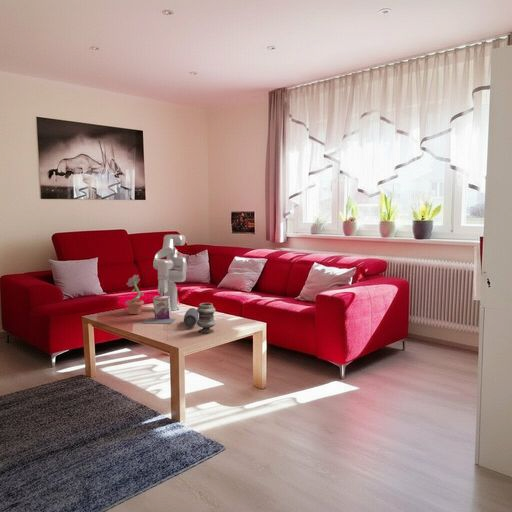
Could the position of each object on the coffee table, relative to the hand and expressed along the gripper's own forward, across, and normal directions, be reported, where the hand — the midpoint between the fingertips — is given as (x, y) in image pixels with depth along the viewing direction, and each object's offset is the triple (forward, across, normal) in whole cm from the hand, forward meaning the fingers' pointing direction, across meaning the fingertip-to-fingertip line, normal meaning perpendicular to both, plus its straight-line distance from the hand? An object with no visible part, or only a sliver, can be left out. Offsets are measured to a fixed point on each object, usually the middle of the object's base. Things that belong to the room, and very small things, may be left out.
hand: (163, 302), depth 328 cm
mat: (+12, +10, 0) cm, 16 cm away
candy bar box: (+11, 0, 0) cm, 11 cm away
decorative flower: (+12, -13, -25) cm, 30 cm away
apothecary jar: (+12, +35, +37) cm, 53 cm away
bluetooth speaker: (+12, +18, +24) cm, 32 cm away
